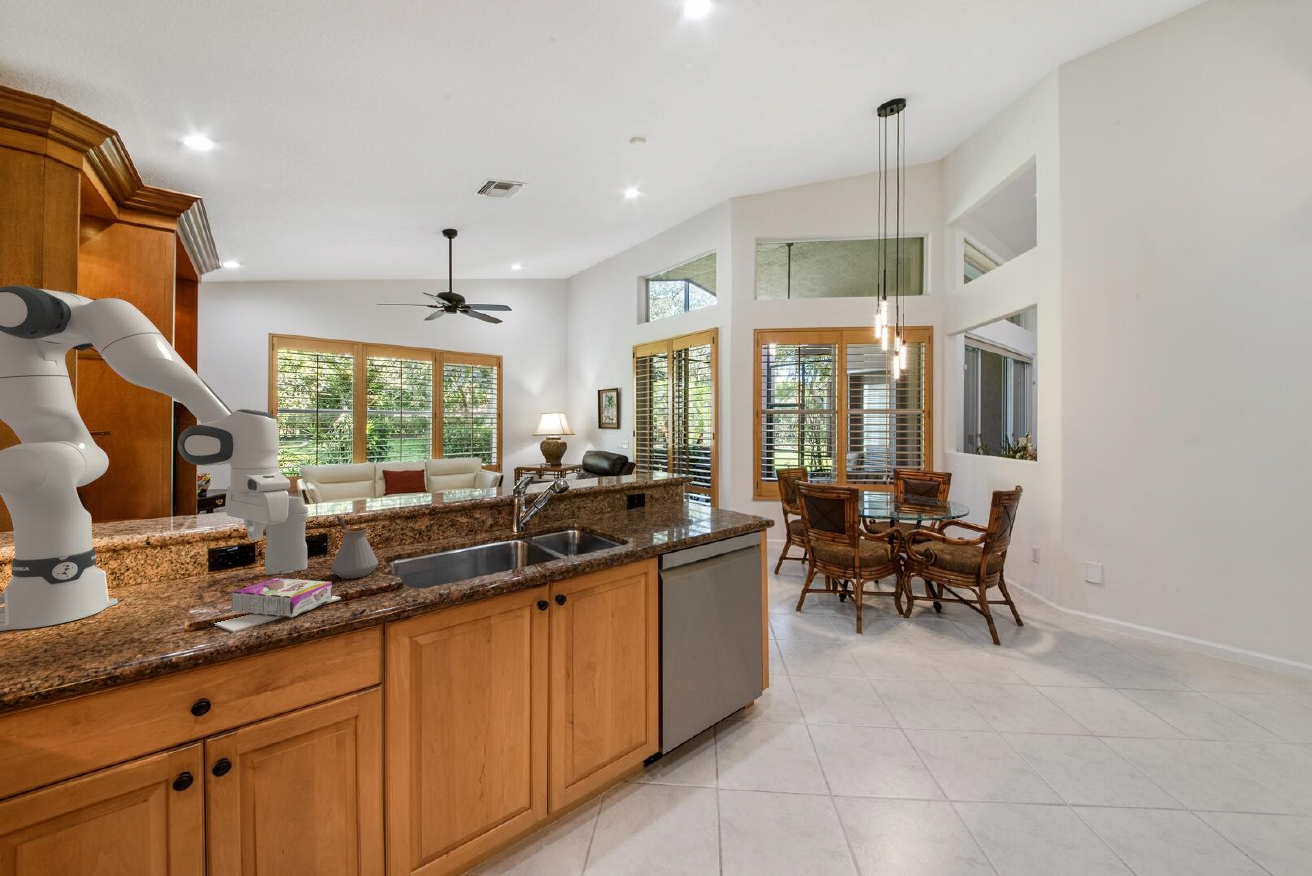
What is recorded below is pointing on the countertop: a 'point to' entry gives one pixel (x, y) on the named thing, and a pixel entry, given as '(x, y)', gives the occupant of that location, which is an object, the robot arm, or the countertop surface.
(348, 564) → the coffee pot
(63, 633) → the countertop surface
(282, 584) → the candy bar box
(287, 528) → the gray flat bottle
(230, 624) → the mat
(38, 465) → the robot arm
